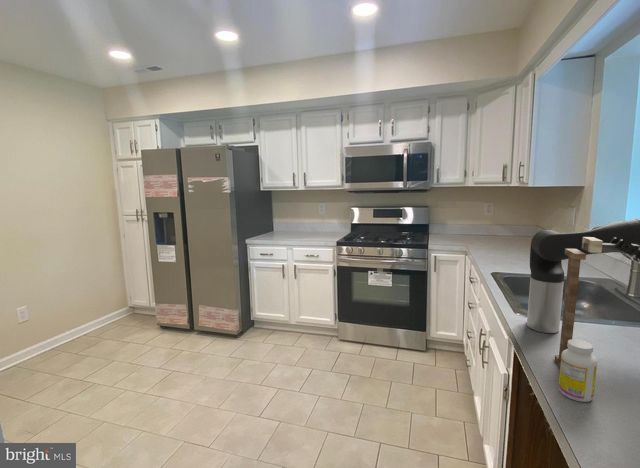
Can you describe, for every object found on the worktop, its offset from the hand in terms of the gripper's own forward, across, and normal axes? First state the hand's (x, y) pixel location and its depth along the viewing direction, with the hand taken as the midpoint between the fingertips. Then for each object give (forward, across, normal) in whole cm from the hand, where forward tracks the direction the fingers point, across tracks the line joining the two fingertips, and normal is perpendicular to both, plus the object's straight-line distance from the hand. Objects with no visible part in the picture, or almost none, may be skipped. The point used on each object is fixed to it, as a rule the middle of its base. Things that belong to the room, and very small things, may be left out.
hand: (615, 242), depth 83 cm
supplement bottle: (-9, +13, +35) cm, 38 cm away
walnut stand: (-10, 0, +34) cm, 36 cm away
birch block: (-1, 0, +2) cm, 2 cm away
